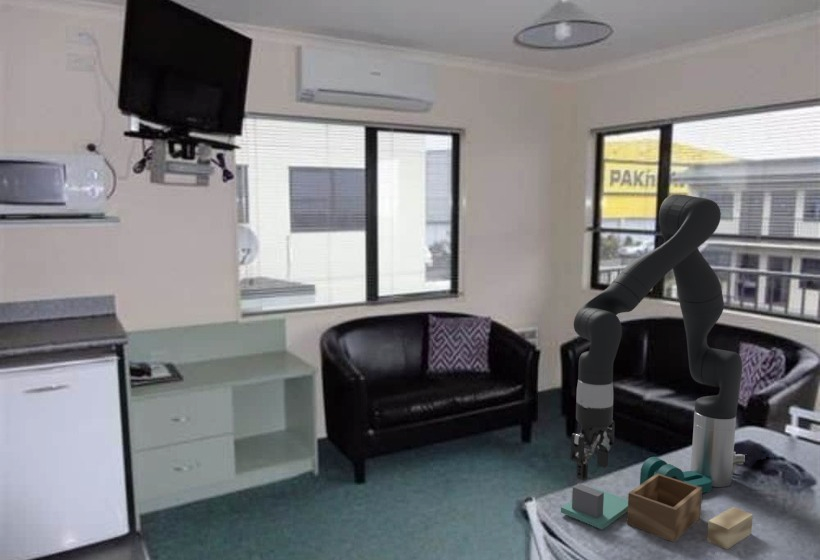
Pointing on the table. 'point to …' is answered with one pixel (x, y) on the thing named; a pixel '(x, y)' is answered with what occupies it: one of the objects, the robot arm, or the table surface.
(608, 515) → the lid
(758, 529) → the table surface
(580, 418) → the robot arm
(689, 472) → the bracket
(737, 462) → the caliper
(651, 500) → the open wooden box
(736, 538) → the pale wooden block
